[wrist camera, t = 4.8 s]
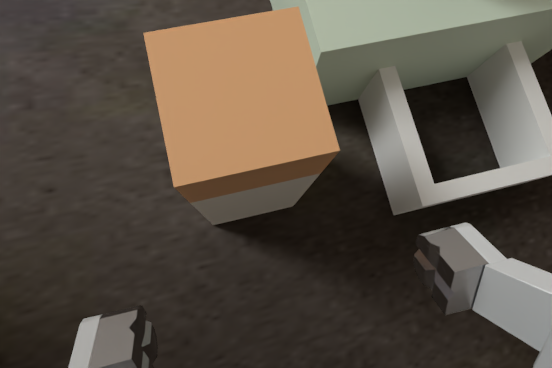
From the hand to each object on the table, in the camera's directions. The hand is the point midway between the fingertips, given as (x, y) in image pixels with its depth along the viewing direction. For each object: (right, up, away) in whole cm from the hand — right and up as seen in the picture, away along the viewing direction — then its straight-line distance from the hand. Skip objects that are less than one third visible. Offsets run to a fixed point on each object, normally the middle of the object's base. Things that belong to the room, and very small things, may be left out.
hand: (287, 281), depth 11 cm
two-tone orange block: (-2, +3, +12) cm, 13 cm away
